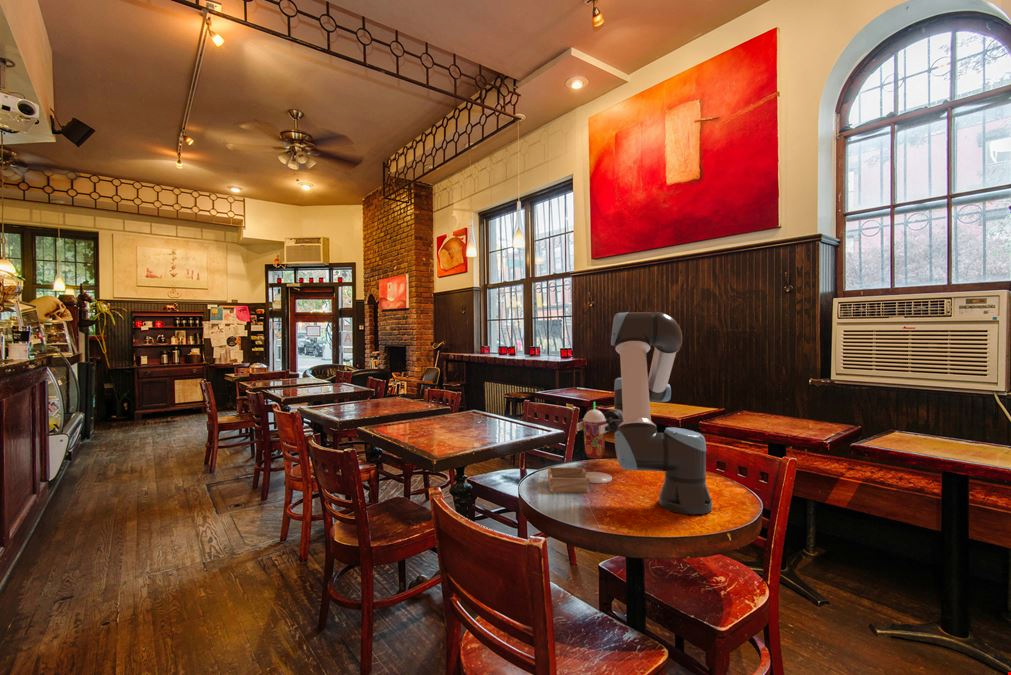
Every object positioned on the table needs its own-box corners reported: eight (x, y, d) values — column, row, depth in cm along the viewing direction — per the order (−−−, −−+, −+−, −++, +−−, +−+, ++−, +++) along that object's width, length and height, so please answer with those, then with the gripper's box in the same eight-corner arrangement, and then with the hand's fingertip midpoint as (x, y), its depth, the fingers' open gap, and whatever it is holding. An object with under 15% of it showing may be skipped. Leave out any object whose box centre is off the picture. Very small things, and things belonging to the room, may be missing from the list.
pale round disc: (615, 483, 163) (615, 481, 163) (581, 483, 164) (581, 481, 164) (608, 473, 175) (608, 471, 175) (576, 473, 176) (576, 471, 176)
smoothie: (603, 453, 173) (603, 400, 173) (608, 459, 165) (608, 403, 165) (581, 453, 174) (581, 400, 173) (584, 459, 165) (584, 403, 165)
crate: (589, 492, 154) (589, 478, 154) (550, 491, 155) (550, 478, 155) (583, 480, 167) (583, 467, 167) (547, 479, 168) (547, 467, 168)
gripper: (639, 432, 178) (616, 443, 159) (590, 425, 190) (563, 435, 172) (639, 412, 178) (616, 421, 159) (590, 407, 190) (563, 415, 172)
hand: (588, 428), depth 165 cm, fingers closed on smoothie, 8 cm apart
